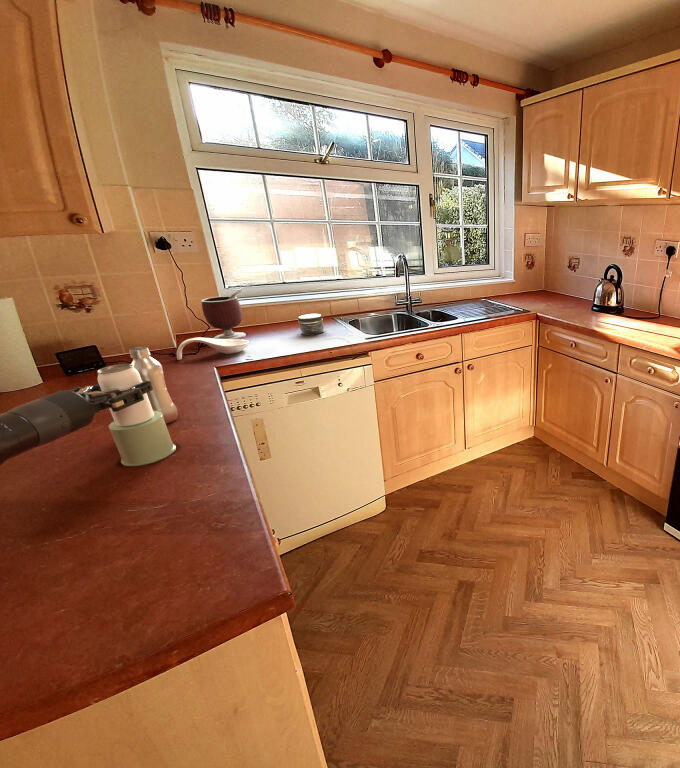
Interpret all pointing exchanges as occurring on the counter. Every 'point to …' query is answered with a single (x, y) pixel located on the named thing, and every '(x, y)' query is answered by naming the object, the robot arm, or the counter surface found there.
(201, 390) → the counter surface
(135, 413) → the can
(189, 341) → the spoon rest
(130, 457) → the cup
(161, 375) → the plastic bottle
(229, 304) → the mate gourd
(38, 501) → the counter surface
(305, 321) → the jar
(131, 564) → the counter surface
